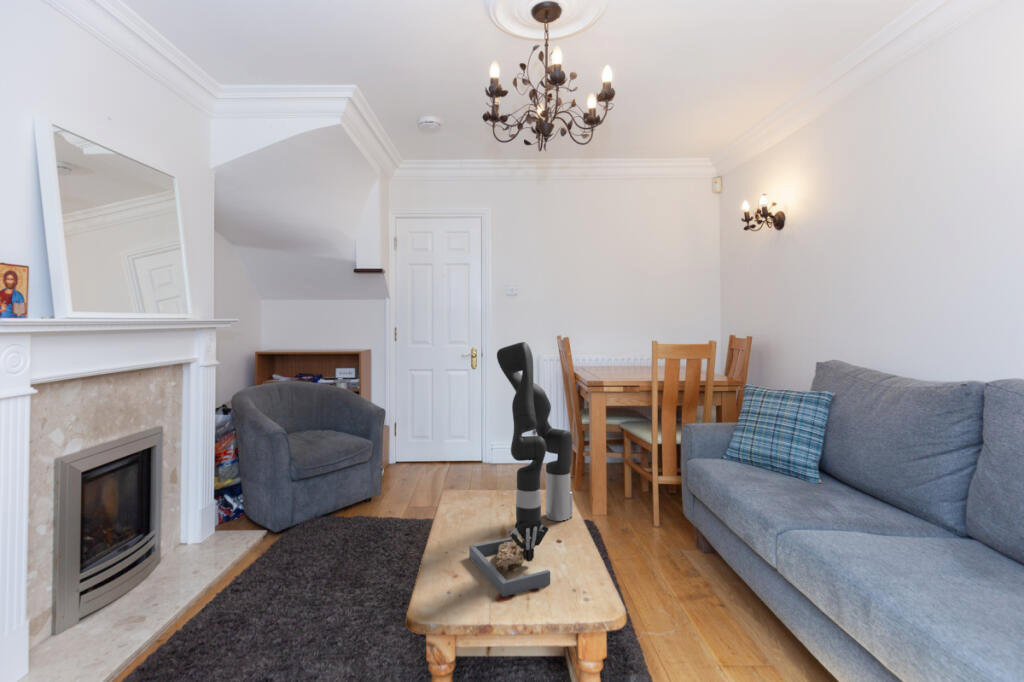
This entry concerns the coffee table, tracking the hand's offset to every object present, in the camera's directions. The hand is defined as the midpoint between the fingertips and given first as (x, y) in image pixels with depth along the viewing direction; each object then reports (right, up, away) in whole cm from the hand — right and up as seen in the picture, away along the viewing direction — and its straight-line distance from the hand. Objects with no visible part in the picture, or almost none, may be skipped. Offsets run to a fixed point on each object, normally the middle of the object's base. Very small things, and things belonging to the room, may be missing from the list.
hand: (528, 560), depth 144 cm
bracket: (-7, -2, -3) cm, 7 cm away
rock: (-5, -2, +1) cm, 5 cm away
